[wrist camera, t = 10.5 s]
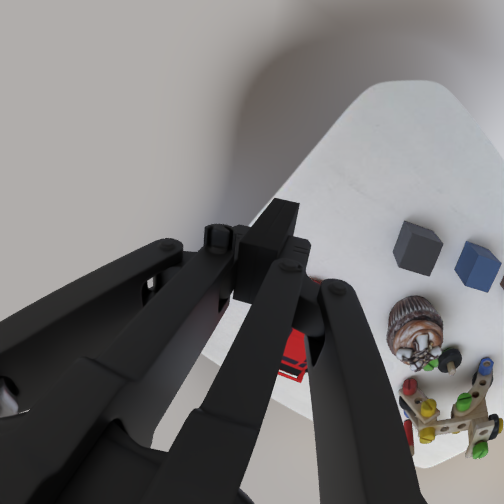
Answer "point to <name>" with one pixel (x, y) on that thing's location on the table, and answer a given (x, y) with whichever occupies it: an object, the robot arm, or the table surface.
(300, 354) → the toy car
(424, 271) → the charcoal block
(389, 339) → the cupcake
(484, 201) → the table surface
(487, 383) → the toy construction set
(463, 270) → the slate-blue block
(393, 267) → the table surface
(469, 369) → the table surface
